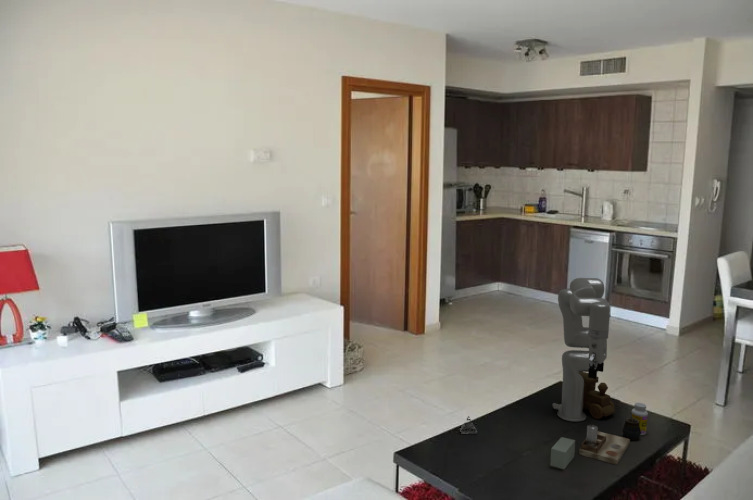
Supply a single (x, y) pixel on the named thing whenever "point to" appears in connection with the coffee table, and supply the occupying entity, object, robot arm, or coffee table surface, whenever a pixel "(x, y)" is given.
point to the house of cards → (468, 430)
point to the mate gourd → (631, 428)
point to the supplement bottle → (640, 416)
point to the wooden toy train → (596, 398)
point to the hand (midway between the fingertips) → (595, 374)
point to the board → (606, 448)
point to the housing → (562, 452)
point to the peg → (591, 436)
